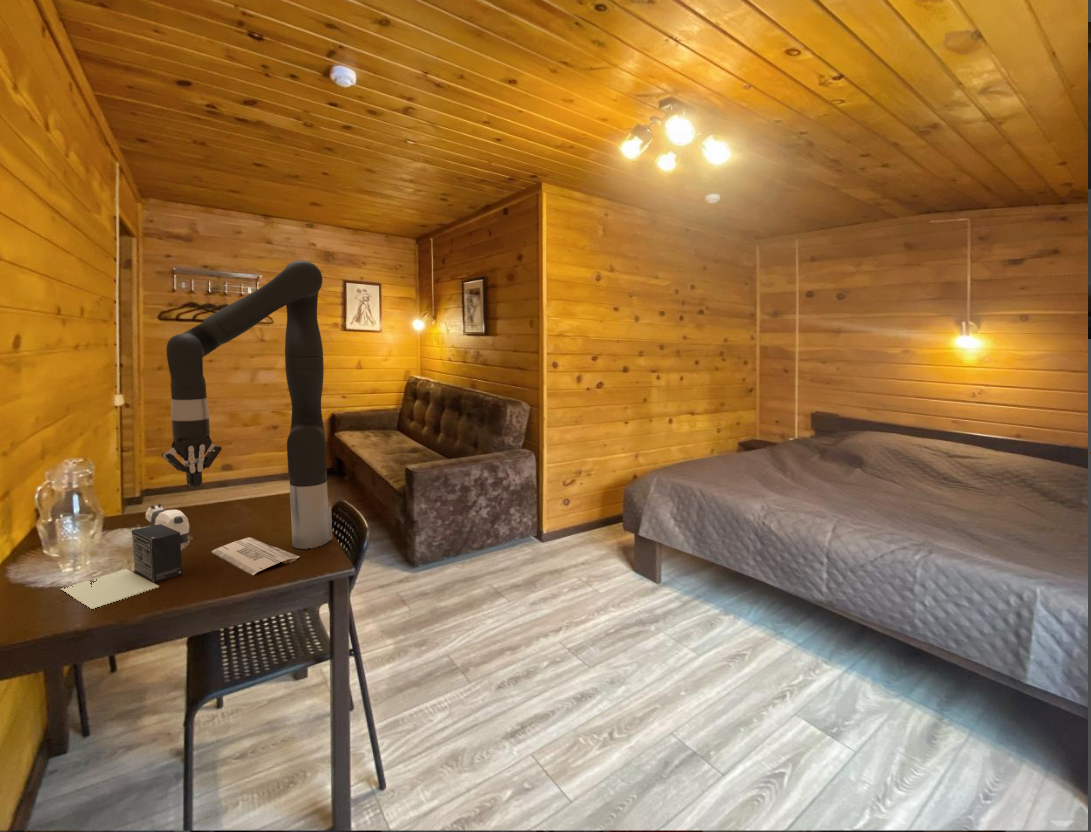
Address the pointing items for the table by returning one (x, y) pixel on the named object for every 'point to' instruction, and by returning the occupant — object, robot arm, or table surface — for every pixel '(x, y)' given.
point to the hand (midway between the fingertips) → (195, 486)
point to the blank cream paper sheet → (109, 588)
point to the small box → (157, 552)
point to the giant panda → (169, 520)
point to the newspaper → (252, 555)
